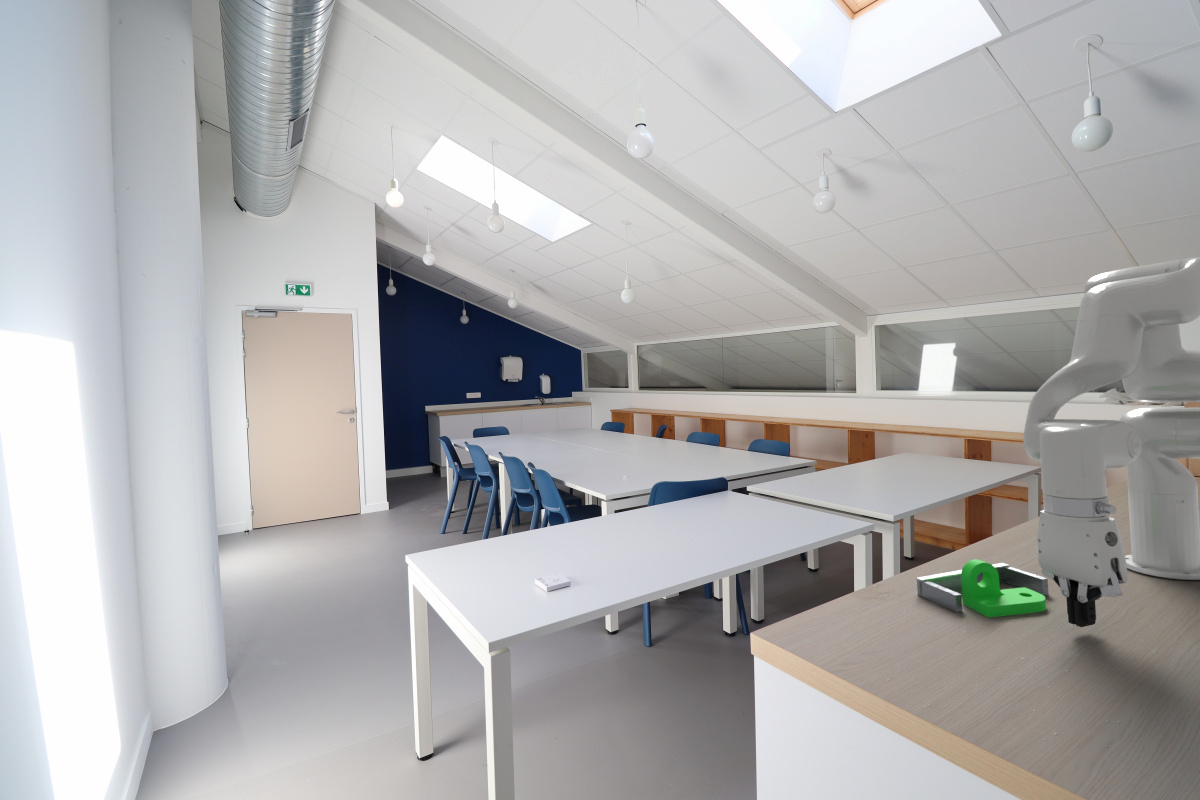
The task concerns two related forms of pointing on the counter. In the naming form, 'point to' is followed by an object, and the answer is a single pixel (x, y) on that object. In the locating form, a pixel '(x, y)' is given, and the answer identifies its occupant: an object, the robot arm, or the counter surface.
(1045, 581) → the steel bracket
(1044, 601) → the mechanical part
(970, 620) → the counter surface
